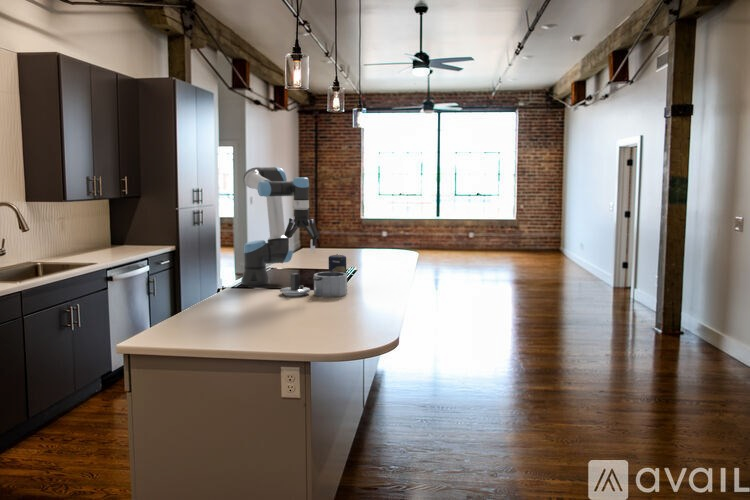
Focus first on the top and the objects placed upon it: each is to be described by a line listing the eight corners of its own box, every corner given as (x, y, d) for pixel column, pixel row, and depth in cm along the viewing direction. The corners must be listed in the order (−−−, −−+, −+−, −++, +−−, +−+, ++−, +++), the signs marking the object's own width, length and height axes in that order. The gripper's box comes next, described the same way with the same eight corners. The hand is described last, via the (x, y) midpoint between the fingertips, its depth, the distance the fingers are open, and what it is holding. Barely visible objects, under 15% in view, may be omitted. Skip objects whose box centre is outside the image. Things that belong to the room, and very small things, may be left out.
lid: (273, 295, 301) (273, 274, 299) (295, 290, 312) (295, 270, 311) (294, 298, 291) (294, 277, 290) (316, 294, 303) (316, 273, 302)
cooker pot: (303, 295, 299) (303, 275, 298) (333, 289, 316) (333, 270, 315) (326, 299, 289) (326, 278, 288) (357, 292, 306) (357, 273, 305)
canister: (347, 285, 326) (347, 252, 323) (345, 289, 316) (345, 255, 314) (330, 285, 327) (330, 252, 324) (327, 288, 317) (326, 254, 315)
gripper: (276, 208, 301) (277, 250, 304) (317, 210, 289) (317, 254, 291) (286, 207, 308) (286, 249, 310) (326, 209, 295) (326, 252, 298)
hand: (301, 251), depth 301 cm, fingers open, 13 cm apart
